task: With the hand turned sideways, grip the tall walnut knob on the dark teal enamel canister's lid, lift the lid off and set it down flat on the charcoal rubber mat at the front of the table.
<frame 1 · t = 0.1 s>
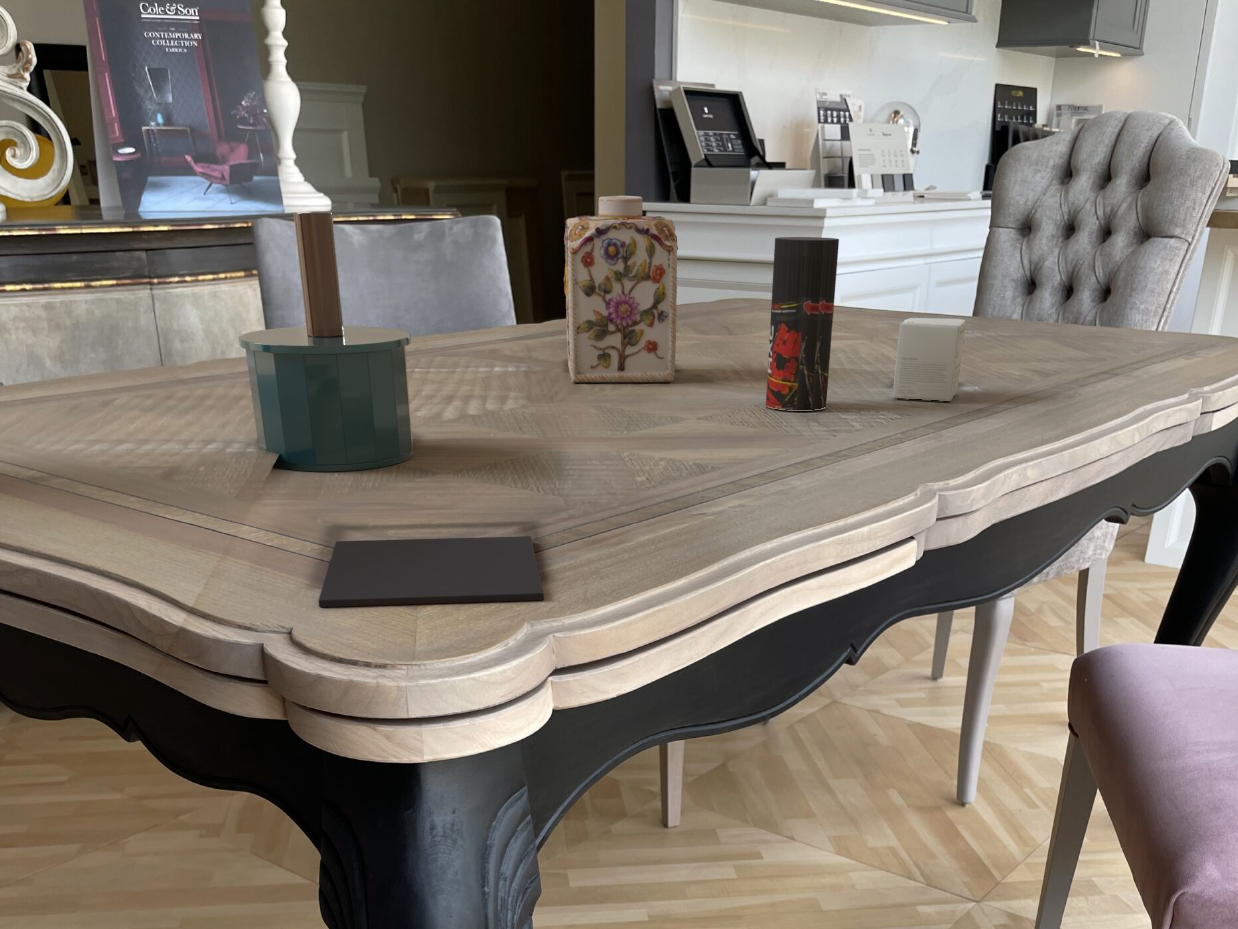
canister: (338, 455, 101), on the table
lid: (326, 343, 97), point 8 cm above the table, touching canister
product box: (924, 399, 130), on the table
mat: (433, 572, 72), on the table
deodorant: (795, 409, 124), on the table
decorative jar: (619, 377, 141), on the table
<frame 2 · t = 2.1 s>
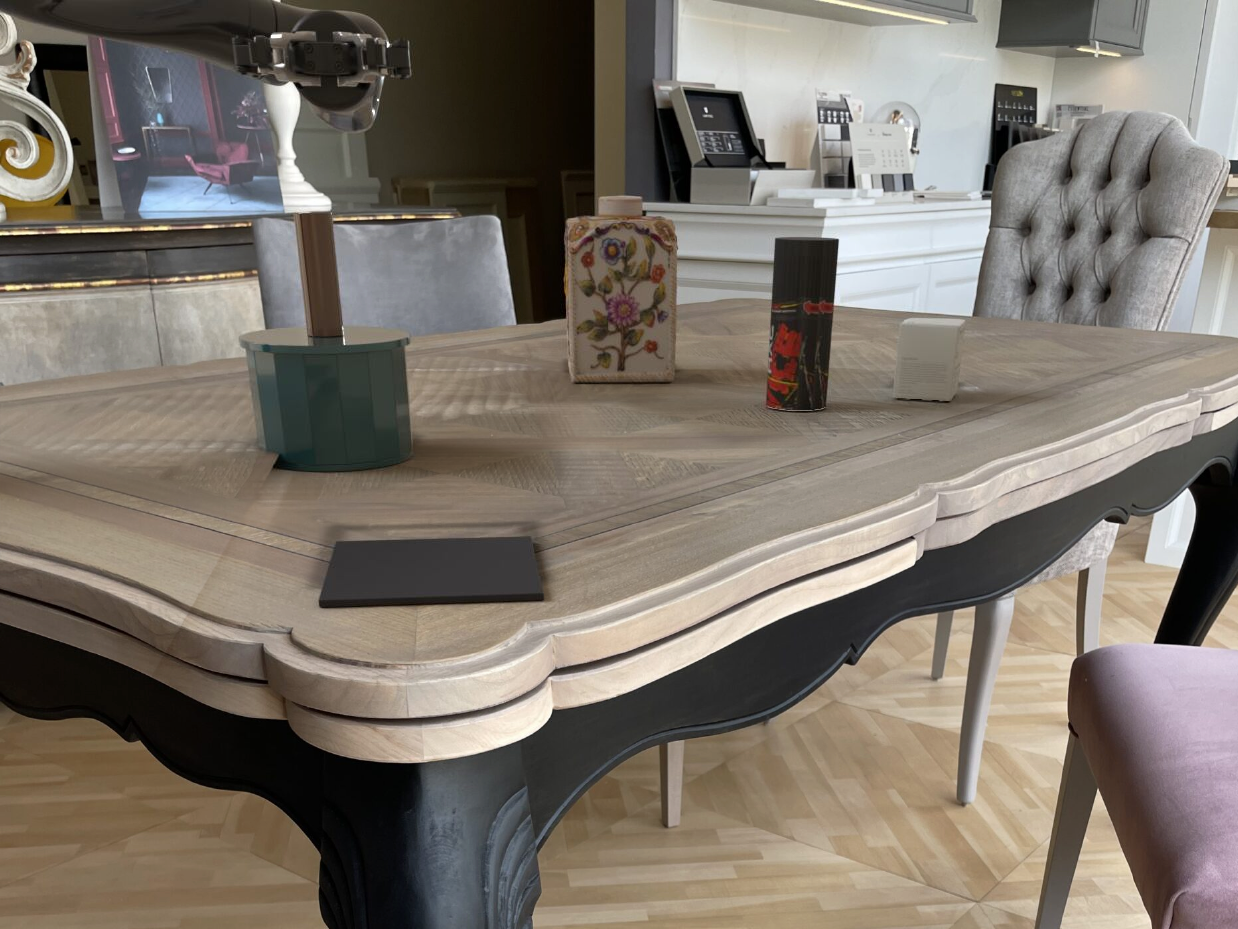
hand: (316, 53, 98), 28 cm above the table, tool horizontal, fingers open, 8 cm apart
nothing on the table moved.
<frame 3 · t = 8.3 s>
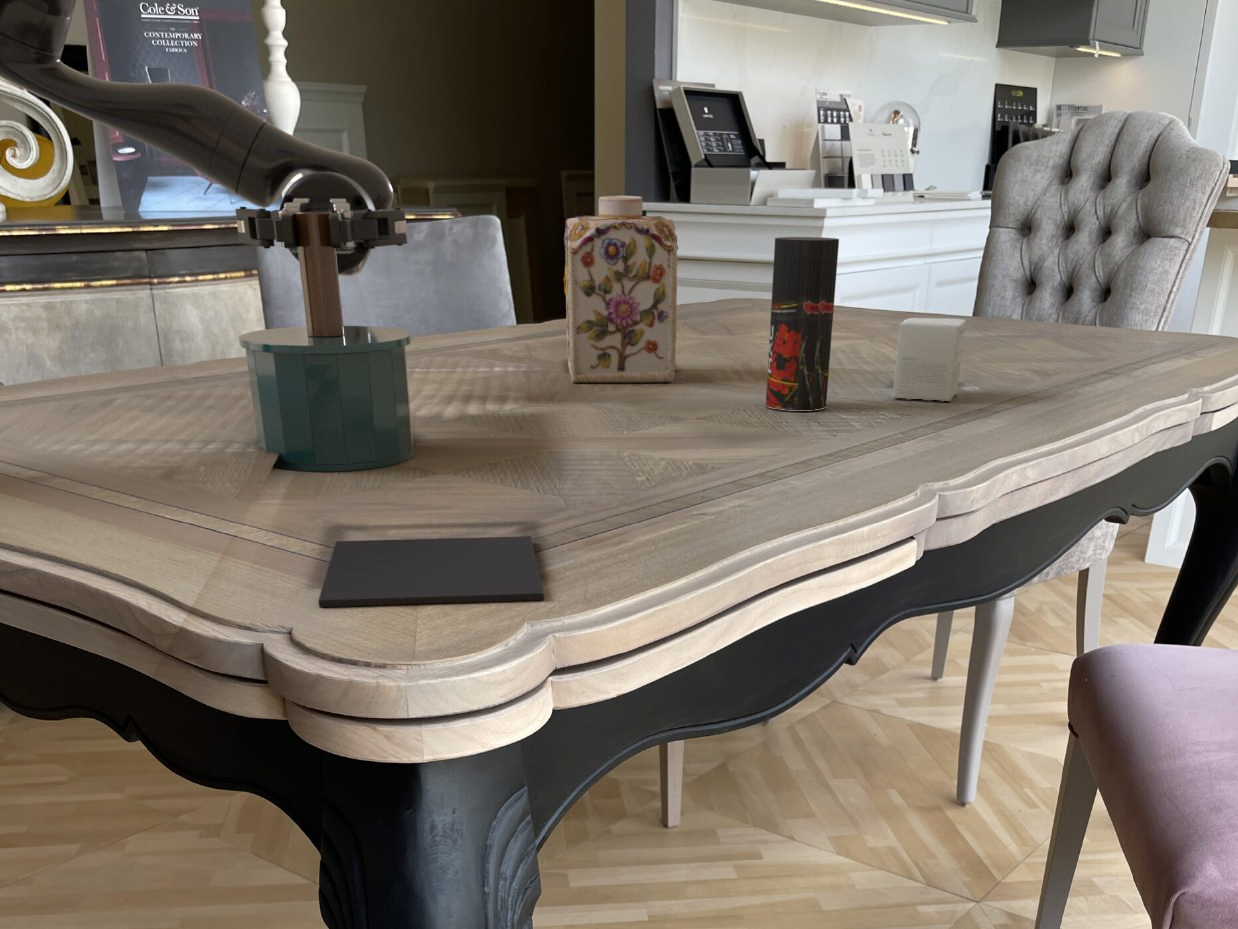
hand: (311, 232, 91), 16 cm above the table, tool horizontal, fingers closed on lid, 3 cm apart
lid: (326, 343, 97), point 9 cm above the table, touching canister, gripper
everything else where it was.
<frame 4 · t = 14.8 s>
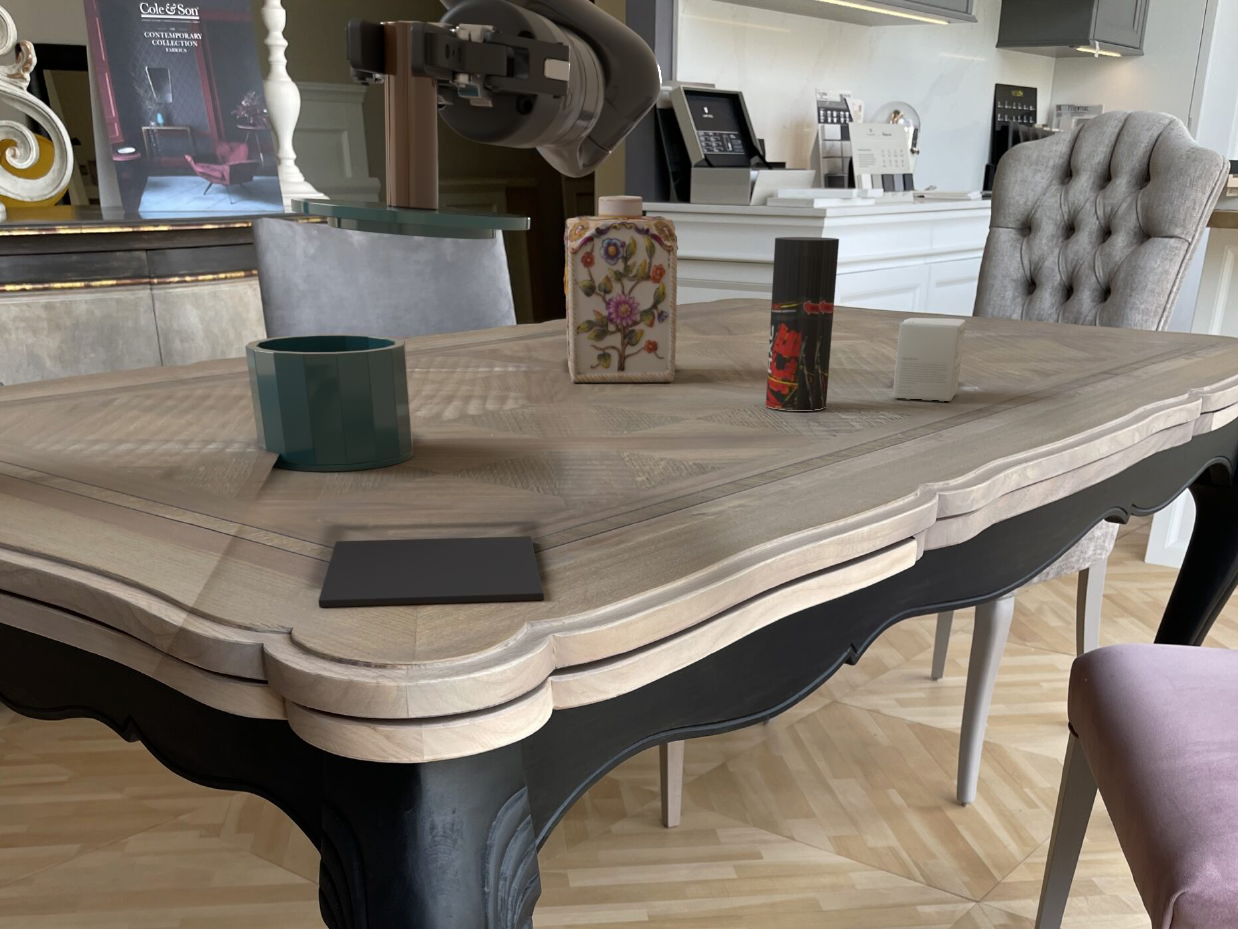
hand: (387, 45, 63), 26 cm above the table, tool horizontal, fingers closed on lid, 3 cm apart
lid: (412, 220, 69), point 18 cm above the table, touching gripper
everything else where it was.
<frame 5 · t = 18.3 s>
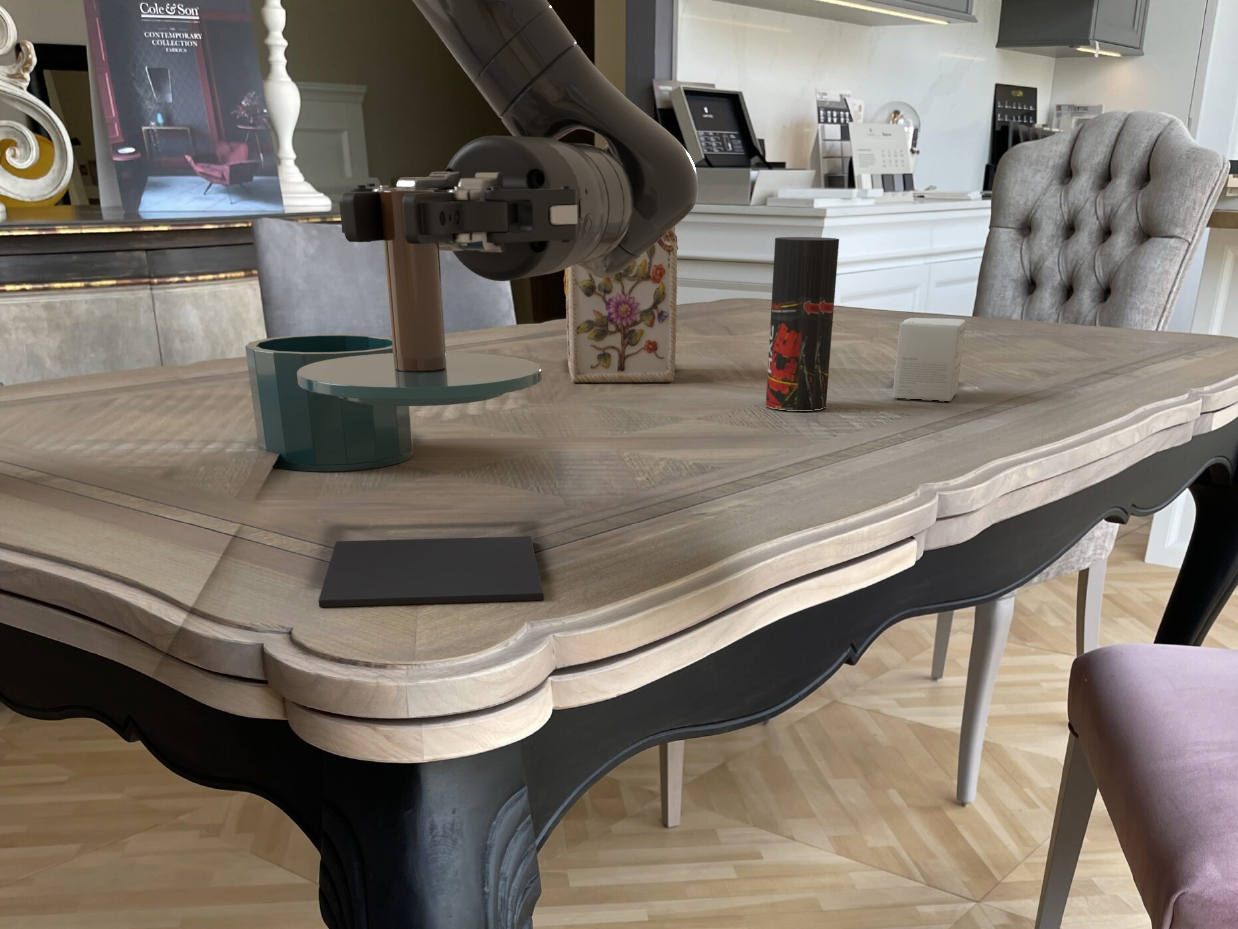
hand: (380, 218, 61), 18 cm above the table, tool horizontal, fingers closed on lid, 3 cm apart
lid: (421, 380, 67), point 11 cm above the table, touching gripper
everything else where it was.
when the fingers open (9 cm above the table, at t = 21.1 s): lid stays where it is, resting on mat.
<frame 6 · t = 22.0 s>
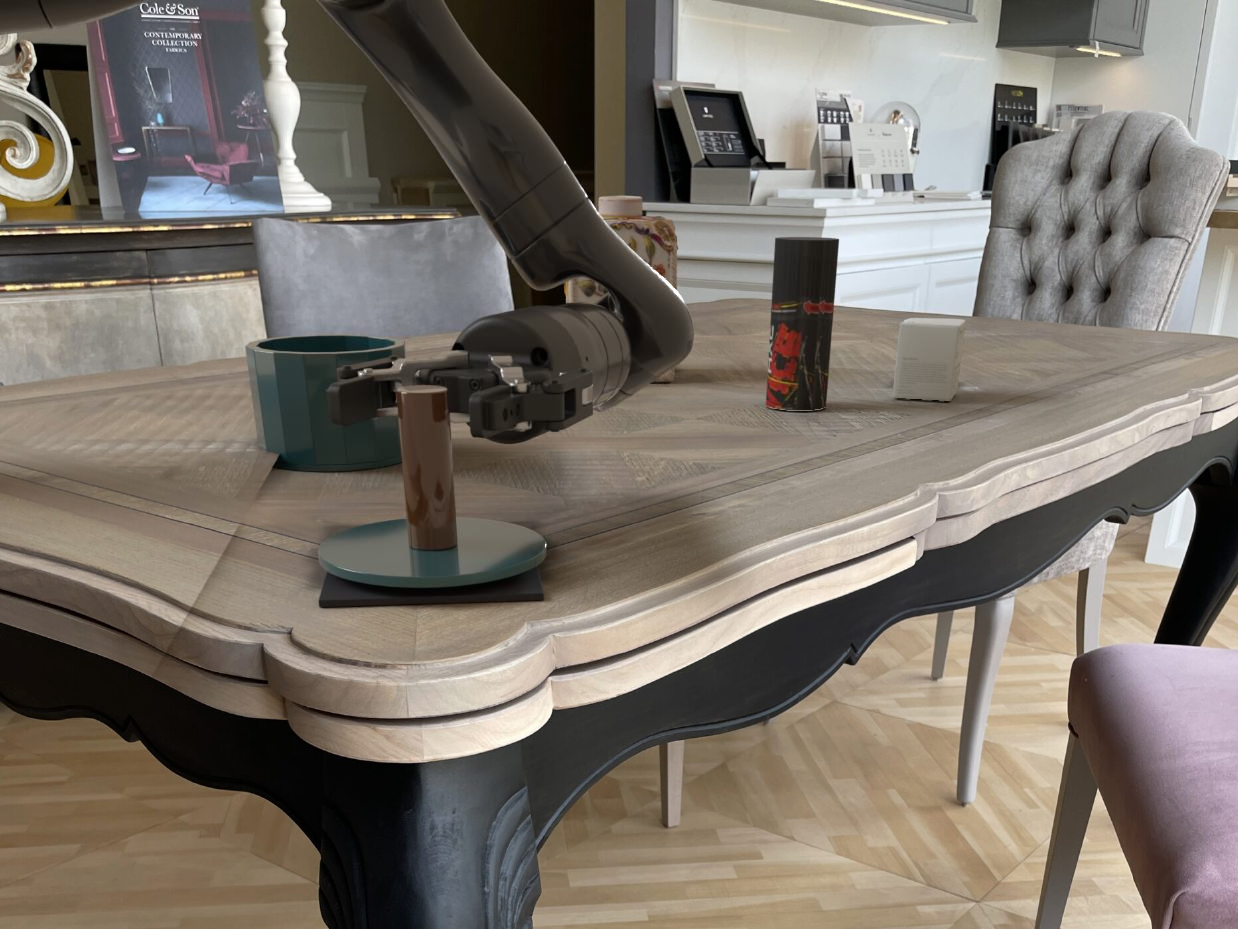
hand: (404, 412, 66), 9 cm above the table, tool horizontal, fingers open, 8 cm apart
lid: (433, 554, 72), point 1 cm above the table, touching mat
everything else where it was.
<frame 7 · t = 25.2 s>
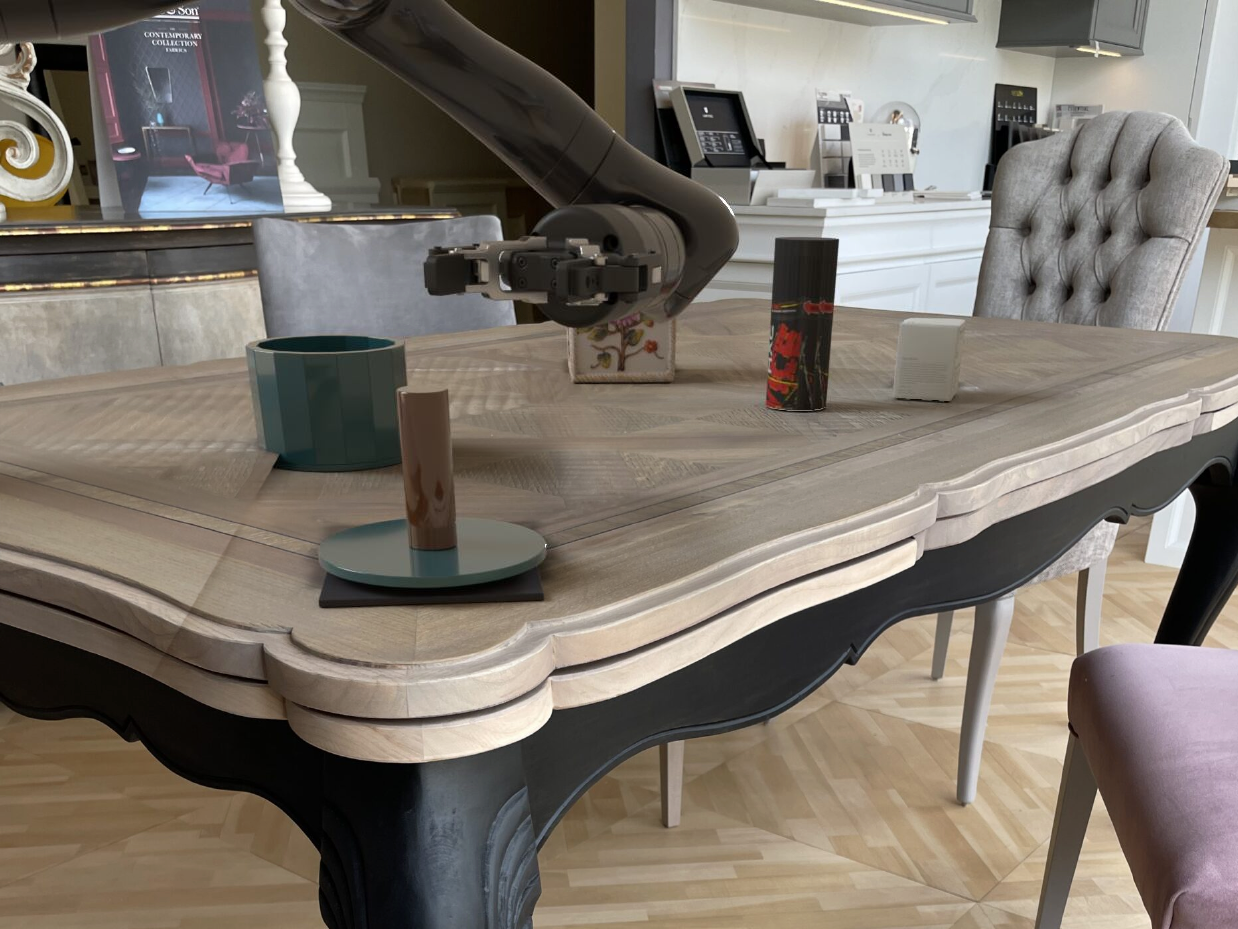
hand: (495, 279, 74), 15 cm above the table, tool horizontal, fingers open, 8 cm apart
nothing on the table moved.
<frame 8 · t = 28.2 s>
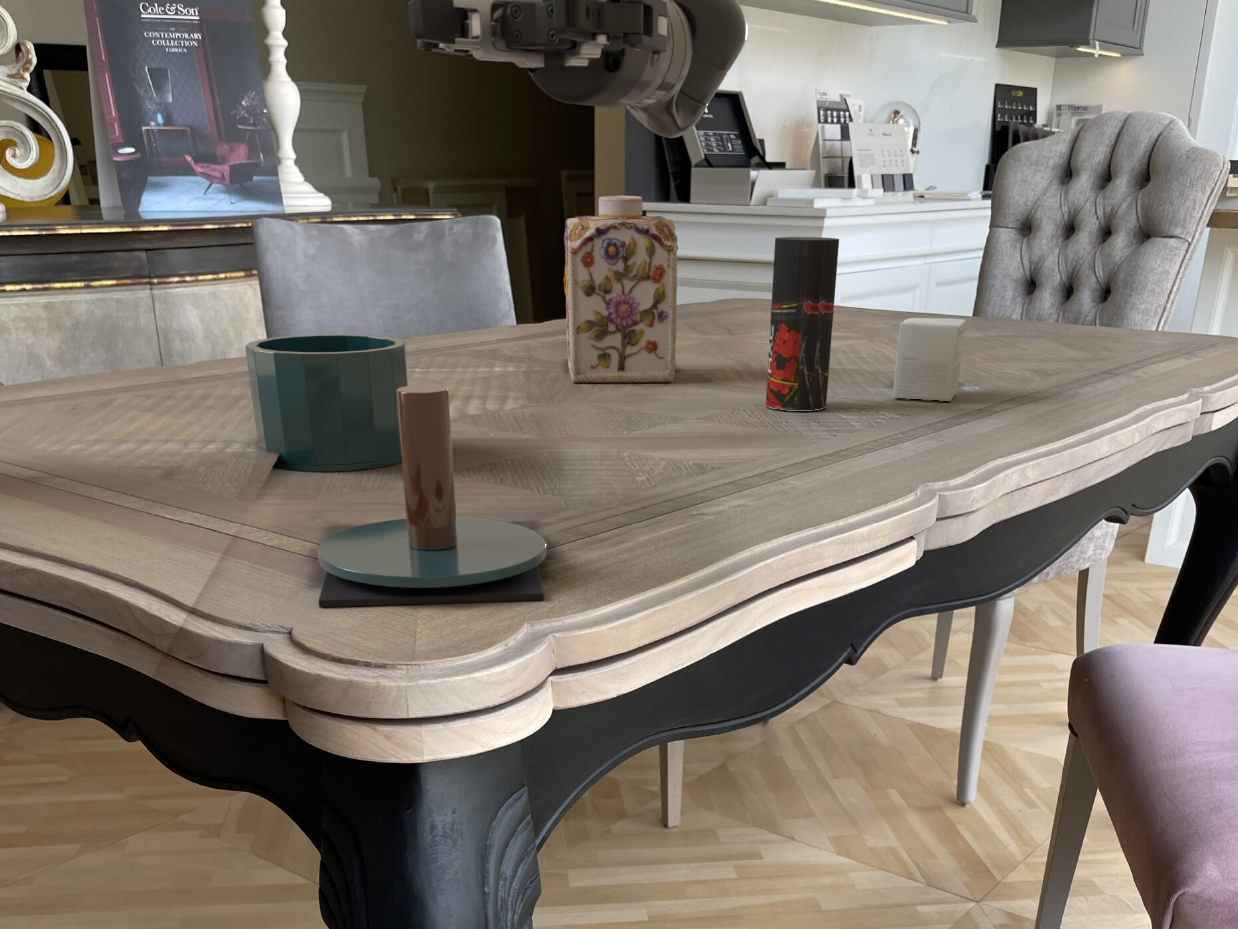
hand: (487, 13, 67), 28 cm above the table, tool horizontal, fingers open, 8 cm apart
nothing on the table moved.
at the end: lid inside the target area on the mat (0.1 cm from its centre), point 1.0 cm above the mat's base; lid tilted 0° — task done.
